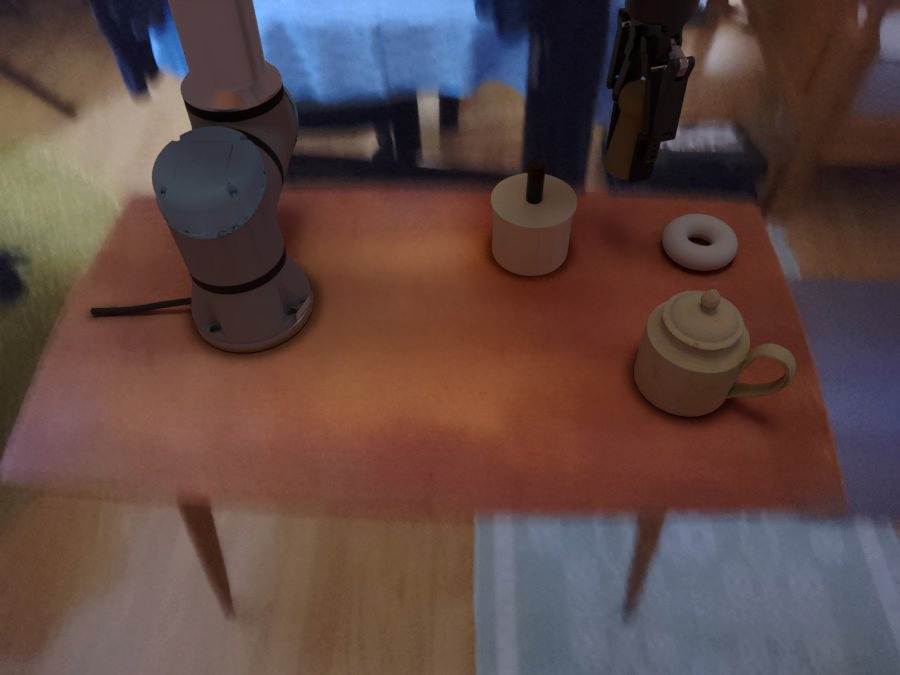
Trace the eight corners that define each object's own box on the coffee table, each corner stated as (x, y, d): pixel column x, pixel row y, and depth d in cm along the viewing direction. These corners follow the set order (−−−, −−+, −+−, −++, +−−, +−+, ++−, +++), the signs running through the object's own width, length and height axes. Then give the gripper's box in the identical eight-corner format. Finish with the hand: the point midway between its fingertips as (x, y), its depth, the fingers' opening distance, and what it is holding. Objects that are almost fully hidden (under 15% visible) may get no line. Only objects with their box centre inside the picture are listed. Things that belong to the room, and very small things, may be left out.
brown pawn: (625, 185, 85) (642, 105, 76) (593, 161, 88) (606, 82, 80) (661, 169, 87) (682, 89, 78) (629, 146, 90) (645, 67, 81)
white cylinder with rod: (506, 241, 85) (509, 199, 80) (479, 188, 92) (480, 146, 87) (590, 224, 87) (597, 181, 82) (557, 173, 94) (562, 130, 89)
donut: (666, 277, 91) (742, 275, 91) (672, 258, 89) (750, 257, 88) (653, 227, 98) (724, 226, 97) (658, 208, 95) (731, 207, 95)
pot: (506, 283, 91) (508, 235, 85) (482, 233, 98) (483, 185, 91) (578, 267, 93) (586, 219, 86) (550, 219, 99) (556, 171, 93)
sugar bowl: (756, 350, 83) (802, 260, 71) (769, 427, 76) (823, 341, 64) (631, 338, 84) (657, 248, 73) (633, 412, 78) (662, 325, 66)
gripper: (752, 7, 64) (691, 203, 82) (658, -67, 76) (622, 118, 93) (679, 19, 63) (633, 215, 80) (595, -58, 75) (571, 128, 92)
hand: (627, 163), depth 87 cm, fingers closed on brown pawn, 6 cm apart
